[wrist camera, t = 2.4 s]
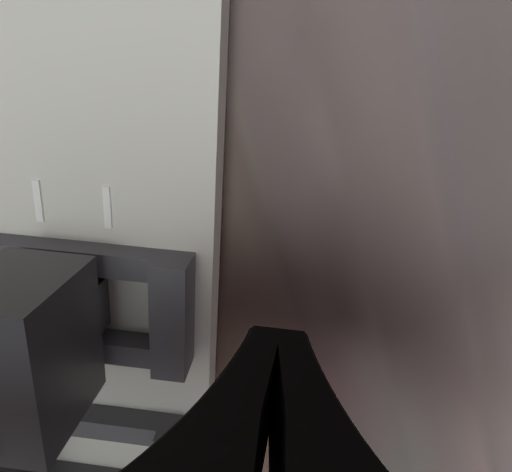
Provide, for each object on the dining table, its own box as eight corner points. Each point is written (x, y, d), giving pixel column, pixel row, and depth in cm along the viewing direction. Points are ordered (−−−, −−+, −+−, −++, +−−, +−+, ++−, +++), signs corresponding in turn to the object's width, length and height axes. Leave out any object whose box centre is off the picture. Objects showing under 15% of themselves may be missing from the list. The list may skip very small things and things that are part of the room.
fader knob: (49, 347, 13) (-58, 462, 9) (34, 231, 12) (-102, 308, 8) (122, 355, 13) (44, 477, 9) (115, 239, 12) (19, 322, 8)
